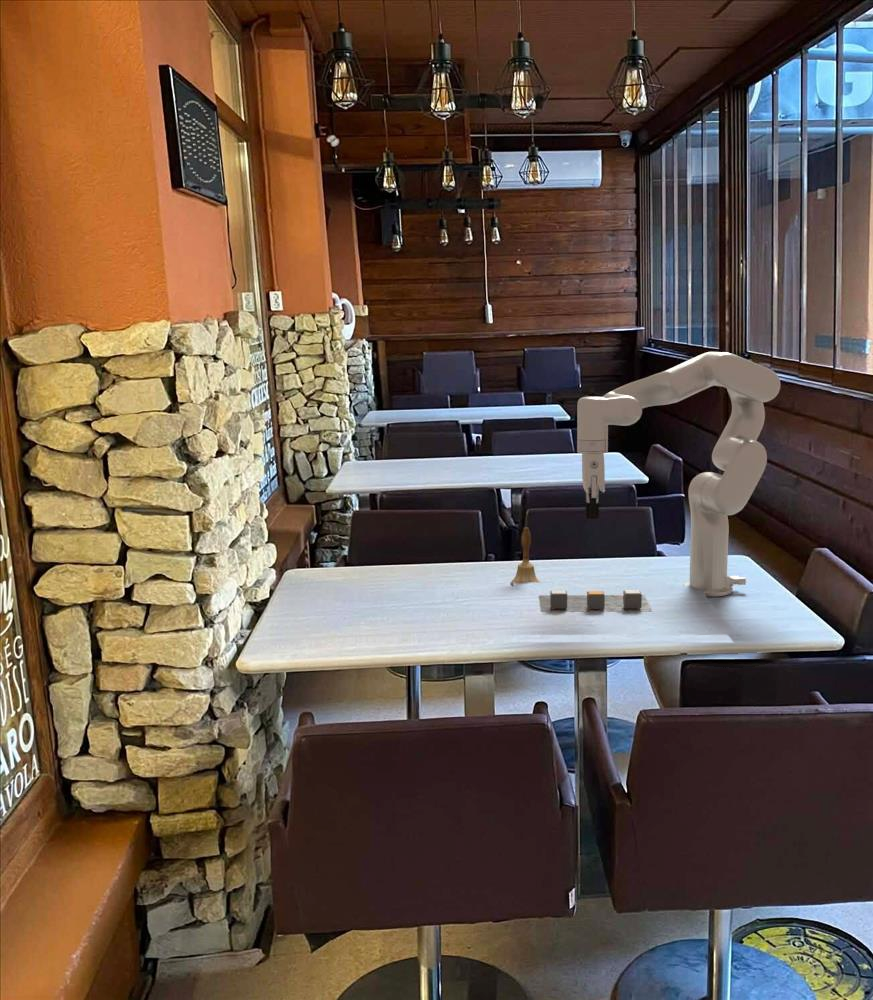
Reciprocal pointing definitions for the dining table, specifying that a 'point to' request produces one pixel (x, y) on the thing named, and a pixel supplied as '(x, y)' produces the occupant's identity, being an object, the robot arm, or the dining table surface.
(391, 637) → the dining table surface
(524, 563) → the hand bell
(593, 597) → the block
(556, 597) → the breaker
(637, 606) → the block
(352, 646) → the dining table surface
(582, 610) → the panel
